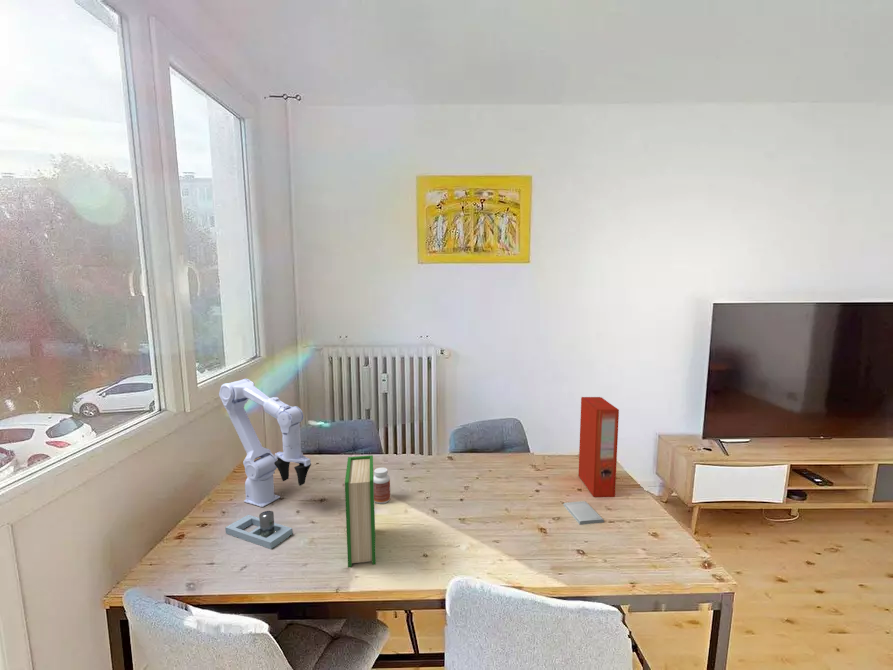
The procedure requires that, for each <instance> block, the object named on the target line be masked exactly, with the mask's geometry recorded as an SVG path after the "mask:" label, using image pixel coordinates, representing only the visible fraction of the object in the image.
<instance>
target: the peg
mask: <svg viewBox="0 0 893 670" xmlns="http://www.w3.org/2000/svg"><path fill="white" fill-rule="evenodd" d="M274 517H275V516H274V511H272V510H264V511H263V512H261V513H259V516H258V518H259V519H260V534H261V536H262V537H265V538H267V537H269V536H270V535H272V534H273V533H275V528H274V523H275V518H274Z"/></svg>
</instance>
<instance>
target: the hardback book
mask: <svg viewBox="0 0 893 670" xmlns="http://www.w3.org/2000/svg"><path fill="white" fill-rule="evenodd" d="M346 463H347V464H346V469H345V470H346V471H345V478H344V479H345V480H344V497H345V498H344V499H345V516H346V517H345V520H346V522H345V525H346V526H345V528H346V548H347V552H346V553H347V568H352V565H353V564H356V563H366V562H371V565H373V566H374V565H376V564H377V561H376V559H377V557H376V555H377V554H376V521H375V520H376V518H375V516H376V515H375V514H376V513H375V502H374V478H373V477H374V455H371V454H370V455H357V456H347V462H346Z"/></svg>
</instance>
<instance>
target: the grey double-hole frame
mask: <svg viewBox="0 0 893 670" xmlns="http://www.w3.org/2000/svg"><path fill="white" fill-rule="evenodd" d="M252 525H254V526H256V528H254V529H252V530H251V531H247V530H245V529H246V527H247V528H248V527H250V526H252ZM274 528H275V531H276V532H275V533H273V534H272V535H270V536H269V537H267V538H265V537H262V536H261V534H260V519H259V516H258V517H257V516H255V515H251V514H247V515H245V516H243V517H241V518H240V519H237V520H236V521H234V522H232V523H230V524H229V525H226V526H225V534H226V535H229V536H231V537H235V538H237V537H238V539H240V540H244V541H246V542H249V543H252V544H255V545H258V546H261V547H264V548H267V549H269V550H272V549H274V548H275V547H277V546H278V545H280V542H281V543H282V542H284V541H285V540H286V538H287V539H288V538H289V536H290V535H291V536H293V535H292V534H293V533H294V532H293V527H290V526H287V525H283V524H280V523H276V522H274ZM291 536H290V537H291ZM283 540H284V541H283Z"/></svg>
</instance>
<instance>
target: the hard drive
mask: <svg viewBox="0 0 893 670" xmlns="http://www.w3.org/2000/svg"><path fill="white" fill-rule="evenodd" d="M562 504H563V508H565V510H567V512H568V513H569V514H570V515H571V516H572V518H573V519H574V520H575V521H576V522H577V524H578V525H579V526H580V525H589V524H590V525H591V524H600V523H604V522H605V521H604V519H603V517H601V515H599V513H598V512H597V511H596V510H595V509H594V508H593V507H592V506H591V505H590V504H589V503H588V502H587V501H585V500H582V501H571V502H569V501H568V502H563V503H562Z"/></svg>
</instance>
